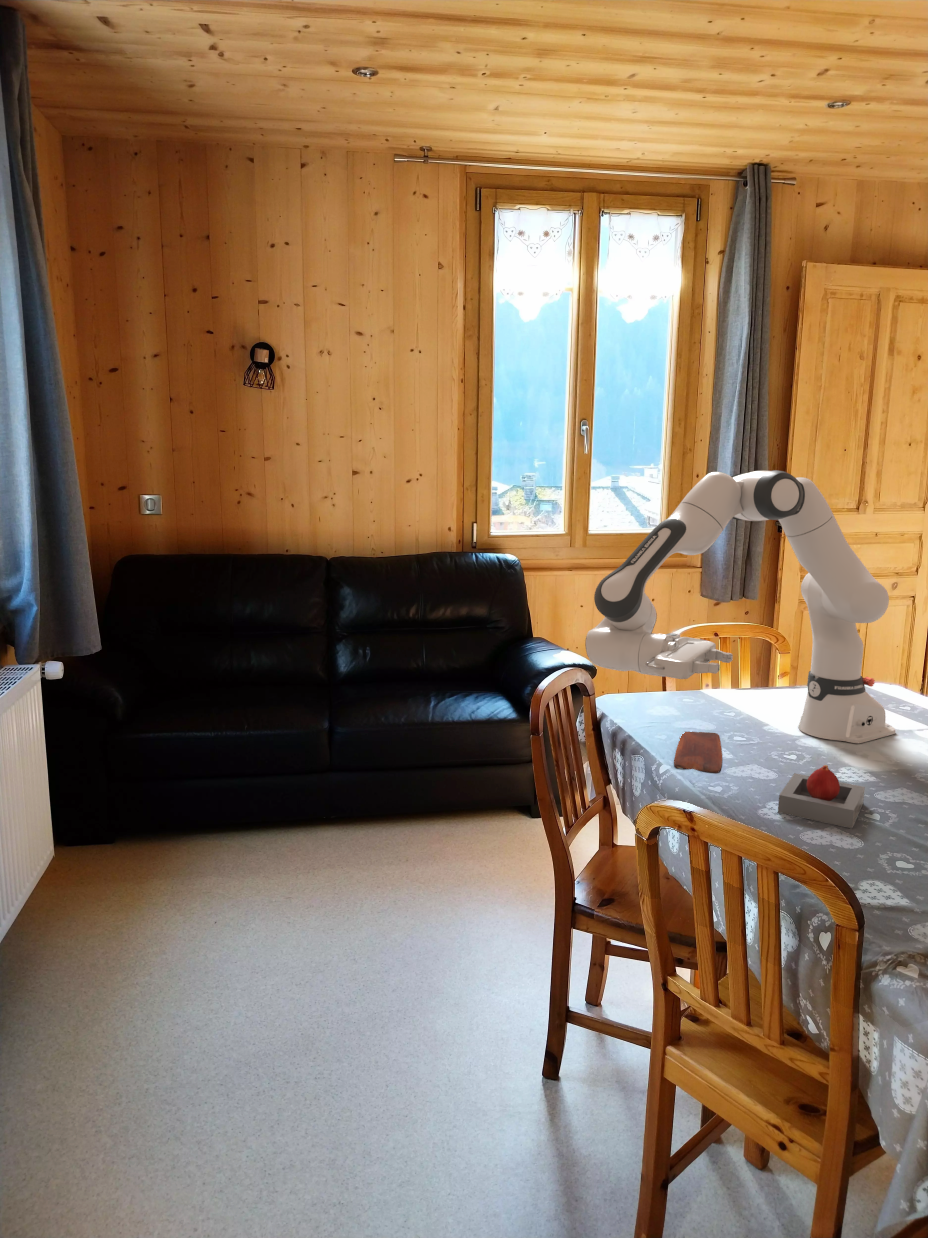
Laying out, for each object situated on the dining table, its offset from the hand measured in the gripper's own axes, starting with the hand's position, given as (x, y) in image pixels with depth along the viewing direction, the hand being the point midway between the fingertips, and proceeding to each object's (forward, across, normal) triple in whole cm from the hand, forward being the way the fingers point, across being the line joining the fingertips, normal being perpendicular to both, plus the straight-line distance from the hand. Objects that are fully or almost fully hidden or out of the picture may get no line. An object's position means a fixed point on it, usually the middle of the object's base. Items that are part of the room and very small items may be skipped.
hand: (725, 663), depth 178 cm
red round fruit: (+21, -5, +24) cm, 32 cm away
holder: (+21, -5, +25) cm, 33 cm away
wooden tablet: (-8, +14, +25) cm, 30 cm away
